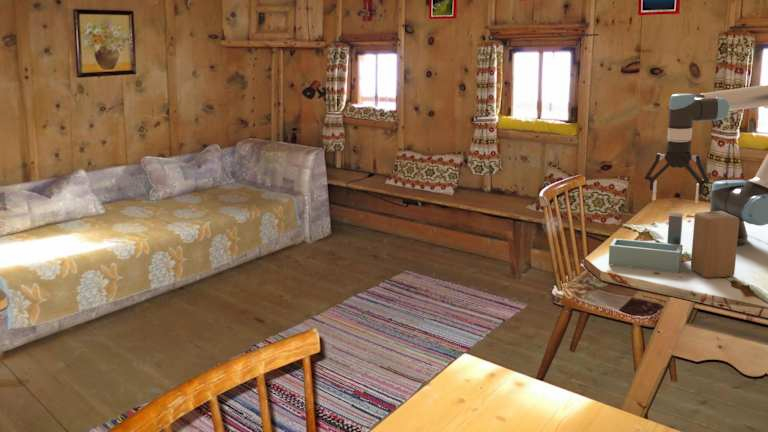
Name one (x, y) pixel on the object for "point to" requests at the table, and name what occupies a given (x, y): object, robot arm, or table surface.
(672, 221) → the brushed steel bar
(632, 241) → the grey-green open box
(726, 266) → the wooden block
